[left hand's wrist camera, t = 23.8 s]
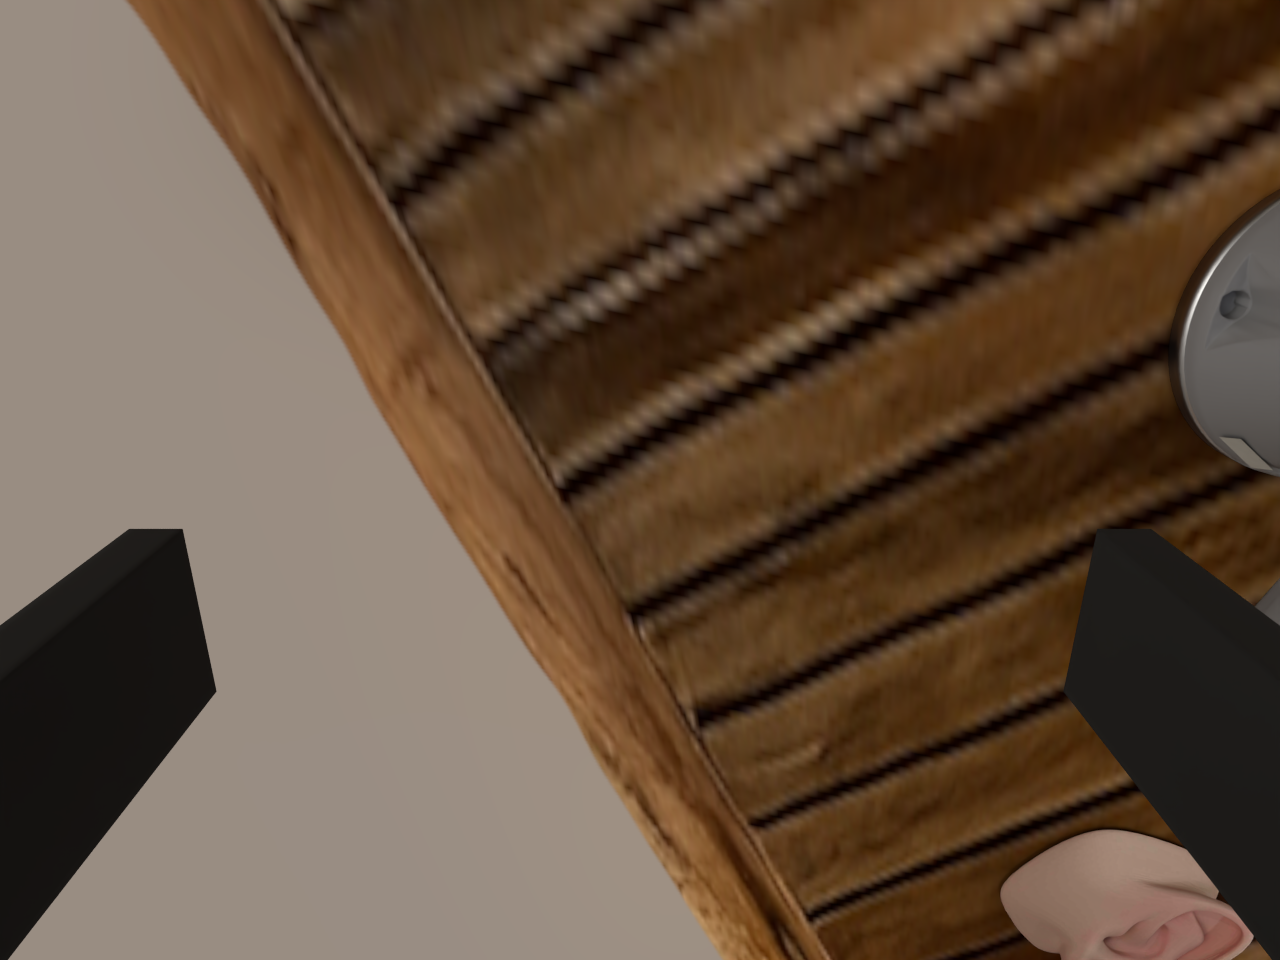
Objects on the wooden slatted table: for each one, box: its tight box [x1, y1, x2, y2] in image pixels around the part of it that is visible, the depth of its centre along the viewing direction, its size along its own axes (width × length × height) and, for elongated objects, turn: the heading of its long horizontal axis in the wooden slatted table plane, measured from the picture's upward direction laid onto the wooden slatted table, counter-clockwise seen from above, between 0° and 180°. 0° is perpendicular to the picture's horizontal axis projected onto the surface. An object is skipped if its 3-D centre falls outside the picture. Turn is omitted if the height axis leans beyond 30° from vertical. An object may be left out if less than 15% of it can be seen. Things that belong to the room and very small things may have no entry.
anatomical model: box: [1000, 830, 1253, 960], centre depth 55 cm, size 13×4×12 cm
